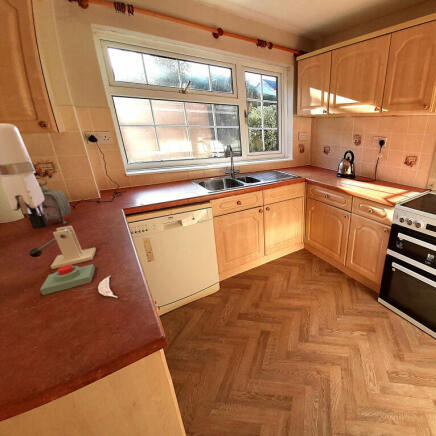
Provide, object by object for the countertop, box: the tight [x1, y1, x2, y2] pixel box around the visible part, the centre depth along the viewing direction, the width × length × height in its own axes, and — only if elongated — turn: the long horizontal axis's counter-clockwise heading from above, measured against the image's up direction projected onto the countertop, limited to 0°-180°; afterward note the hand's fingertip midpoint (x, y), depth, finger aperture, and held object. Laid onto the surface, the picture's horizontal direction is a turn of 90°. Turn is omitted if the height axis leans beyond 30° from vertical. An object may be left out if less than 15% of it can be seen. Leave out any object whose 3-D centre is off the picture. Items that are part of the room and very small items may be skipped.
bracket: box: [50, 225, 97, 270], centre depth 93 cm, size 12×9×13 cm
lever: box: [28, 228, 72, 258], centre depth 90 cm, size 14×3×3 cm
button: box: [57, 264, 74, 275], centre depth 80 cm, size 4×4×2 cm
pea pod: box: [97, 275, 119, 299], centre depth 76 cm, size 15×4×2 cm, turn 39°
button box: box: [39, 263, 96, 296], centre depth 81 cm, size 12×9×4 cm
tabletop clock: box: [35, 177, 72, 225], centre depth 125 cm, size 14×9×25 cm, turn 102°
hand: (41, 227), depth 77 cm, fingers closed
